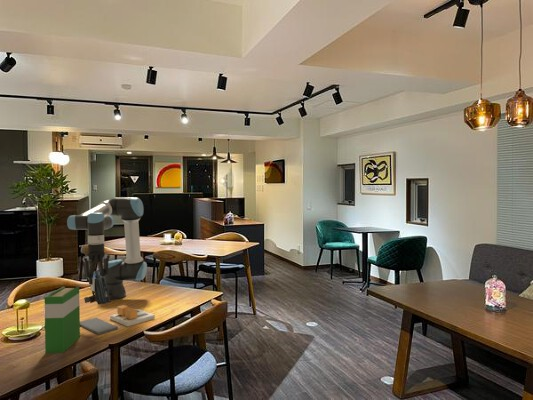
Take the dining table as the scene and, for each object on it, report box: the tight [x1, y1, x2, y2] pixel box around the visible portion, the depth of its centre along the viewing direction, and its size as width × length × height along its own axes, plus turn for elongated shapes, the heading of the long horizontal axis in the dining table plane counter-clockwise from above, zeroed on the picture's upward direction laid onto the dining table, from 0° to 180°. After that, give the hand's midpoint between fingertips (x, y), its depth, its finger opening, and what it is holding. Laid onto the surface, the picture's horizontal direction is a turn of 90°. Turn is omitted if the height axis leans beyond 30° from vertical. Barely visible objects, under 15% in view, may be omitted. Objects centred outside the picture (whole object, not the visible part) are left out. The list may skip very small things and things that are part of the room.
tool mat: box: [80, 317, 119, 335], centre depth 200 cm, size 22×10×1 cm, turn 50°
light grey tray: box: [109, 308, 156, 327], centre depth 211 cm, size 17×16×2 cm
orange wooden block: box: [116, 304, 130, 316], centre depth 212 cm, size 5×4×4 cm
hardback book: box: [44, 285, 81, 354], centre depth 176 cm, size 18×7×24 cm, turn 4°
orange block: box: [125, 307, 137, 319], centre depth 206 cm, size 5×4×4 cm
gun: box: [84, 270, 112, 306], centre depth 200 cm, size 3×17×15 cm
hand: (96, 289), depth 199 cm, fingers closed on gun, 3 cm apart
